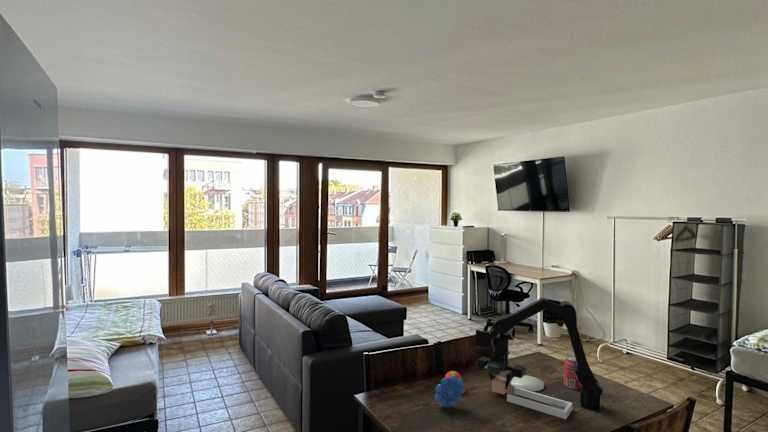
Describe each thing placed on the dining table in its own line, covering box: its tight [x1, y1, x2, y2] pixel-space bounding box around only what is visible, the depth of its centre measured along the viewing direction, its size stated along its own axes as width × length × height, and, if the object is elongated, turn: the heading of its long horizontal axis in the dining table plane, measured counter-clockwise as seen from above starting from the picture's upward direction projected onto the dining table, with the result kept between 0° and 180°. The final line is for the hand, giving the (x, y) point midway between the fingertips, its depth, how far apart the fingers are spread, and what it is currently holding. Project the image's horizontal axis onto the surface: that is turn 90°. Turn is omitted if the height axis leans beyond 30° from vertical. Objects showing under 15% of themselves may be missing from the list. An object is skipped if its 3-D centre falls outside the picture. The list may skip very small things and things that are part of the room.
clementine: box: [444, 370, 462, 379], centre depth 171 cm, size 8×7×7 cm
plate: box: [510, 374, 545, 392], centre depth 176 cm, size 14×14×1 cm
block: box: [491, 375, 510, 395], centre depth 166 cm, size 5×5×4 cm
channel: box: [506, 387, 573, 420], centre depth 157 cm, size 22×9×2 cm, turn 52°
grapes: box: [434, 375, 466, 408], centre depth 156 cm, size 12×7×12 cm, turn 96°
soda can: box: [563, 355, 583, 390], centre depth 174 cm, size 7×7×12 cm
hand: (500, 387), depth 167 cm, fingers closed on block, 5 cm apart
